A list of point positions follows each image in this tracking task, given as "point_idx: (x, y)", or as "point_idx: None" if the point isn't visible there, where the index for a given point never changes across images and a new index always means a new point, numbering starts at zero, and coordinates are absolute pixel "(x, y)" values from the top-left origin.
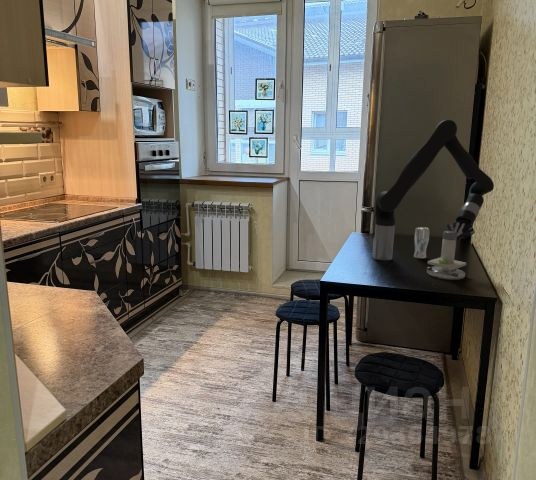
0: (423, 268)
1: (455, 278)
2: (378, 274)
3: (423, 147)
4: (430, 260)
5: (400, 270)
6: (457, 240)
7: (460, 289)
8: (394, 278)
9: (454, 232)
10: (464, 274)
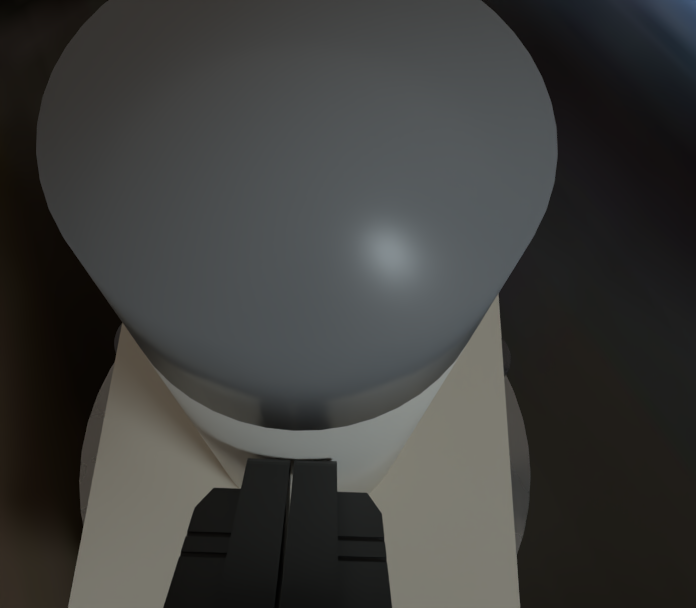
0: (608, 495)
1: None
2: (681, 25)
3: None
4: (494, 310)
5: (679, 237)
6: (179, 576)
7: (23, 119)
8: (539, 22)
9: (158, 176)
10: (82, 489)
